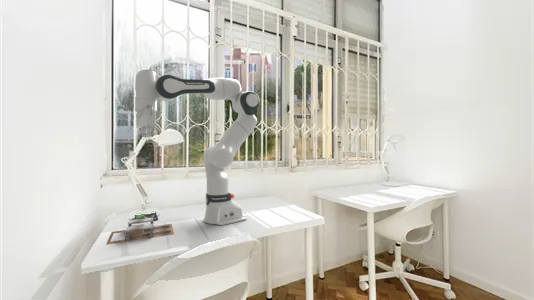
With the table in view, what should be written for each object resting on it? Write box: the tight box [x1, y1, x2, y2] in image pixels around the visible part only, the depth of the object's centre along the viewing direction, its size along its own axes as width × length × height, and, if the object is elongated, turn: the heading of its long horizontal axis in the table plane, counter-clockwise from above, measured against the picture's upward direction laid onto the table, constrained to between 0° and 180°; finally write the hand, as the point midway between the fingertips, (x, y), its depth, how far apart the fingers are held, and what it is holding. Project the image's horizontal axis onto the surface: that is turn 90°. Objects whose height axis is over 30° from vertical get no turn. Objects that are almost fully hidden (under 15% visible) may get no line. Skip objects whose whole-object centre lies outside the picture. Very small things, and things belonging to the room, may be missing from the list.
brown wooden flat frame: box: [105, 218, 175, 246], centre depth 102 cm, size 24×14×6 cm, turn 116°
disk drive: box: [134, 211, 159, 222], centre depth 123 cm, size 10×3×15 cm
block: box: [129, 223, 144, 235], centre depth 101 cm, size 5×5×3 cm
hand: (146, 137), depth 108 cm, fingers open, 8 cm apart
